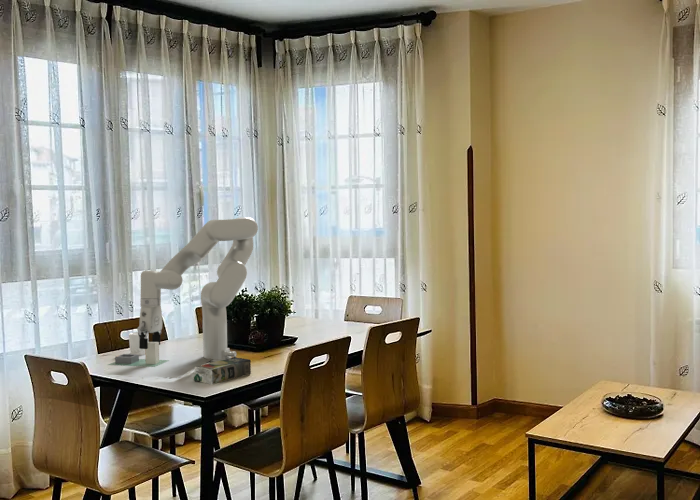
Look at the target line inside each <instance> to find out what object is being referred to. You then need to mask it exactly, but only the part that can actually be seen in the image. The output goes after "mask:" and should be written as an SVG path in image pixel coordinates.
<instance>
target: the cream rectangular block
mask: <svg viewBox="0 0 700 500" xmlns="http://www.w3.org/2000/svg"><path fill="white" fill-rule="evenodd" d="M145 359H146V364H157V363H159V360H160V345H159V342H152V341H148V349H145Z"/></svg>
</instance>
